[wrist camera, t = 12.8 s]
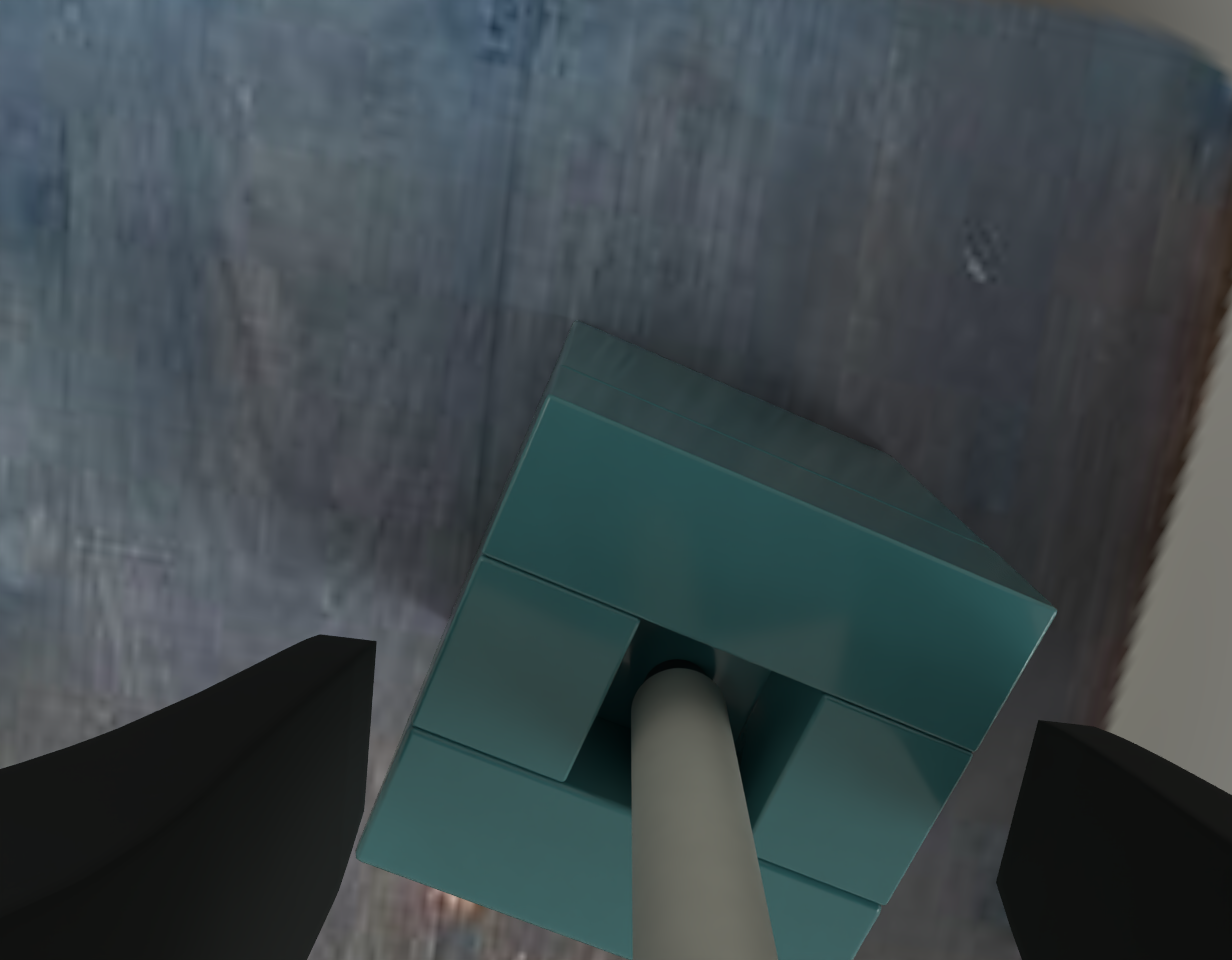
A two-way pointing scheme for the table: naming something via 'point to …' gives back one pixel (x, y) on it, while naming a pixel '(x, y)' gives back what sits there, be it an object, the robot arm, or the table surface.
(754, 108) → the table surface
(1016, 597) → the pen stand
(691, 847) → the stylus
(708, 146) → the table surface
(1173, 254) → the table surface
